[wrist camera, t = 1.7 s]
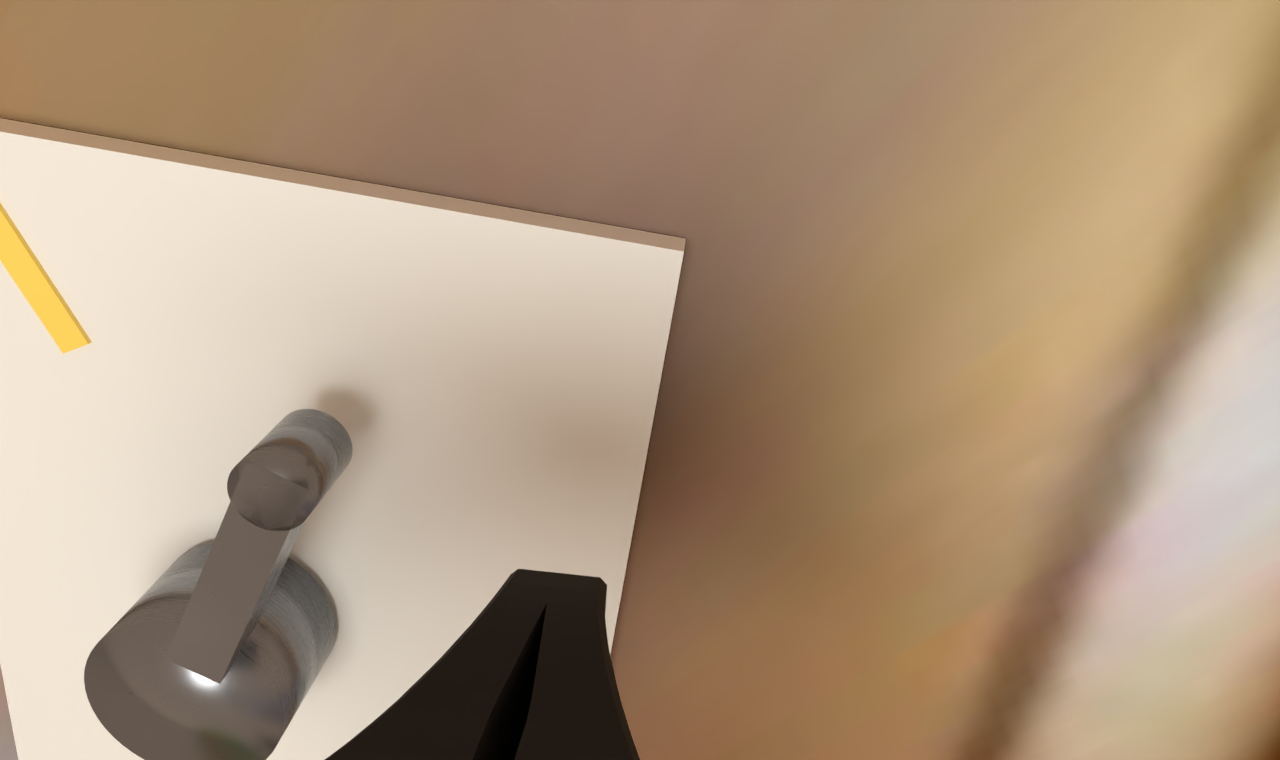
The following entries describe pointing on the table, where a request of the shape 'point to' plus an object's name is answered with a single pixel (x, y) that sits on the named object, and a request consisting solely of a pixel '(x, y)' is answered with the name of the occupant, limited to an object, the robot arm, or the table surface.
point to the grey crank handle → (229, 616)
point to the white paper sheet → (303, 405)
